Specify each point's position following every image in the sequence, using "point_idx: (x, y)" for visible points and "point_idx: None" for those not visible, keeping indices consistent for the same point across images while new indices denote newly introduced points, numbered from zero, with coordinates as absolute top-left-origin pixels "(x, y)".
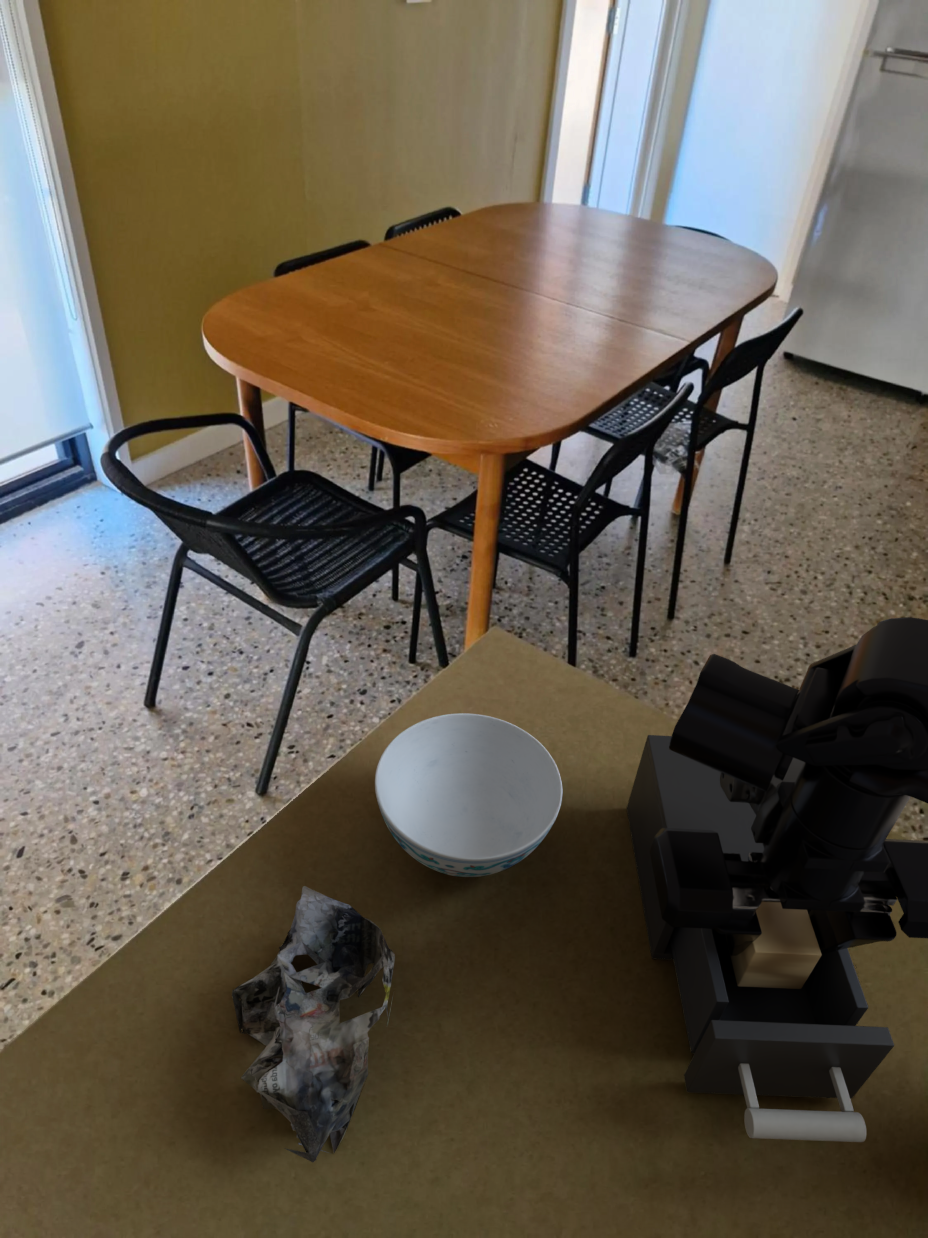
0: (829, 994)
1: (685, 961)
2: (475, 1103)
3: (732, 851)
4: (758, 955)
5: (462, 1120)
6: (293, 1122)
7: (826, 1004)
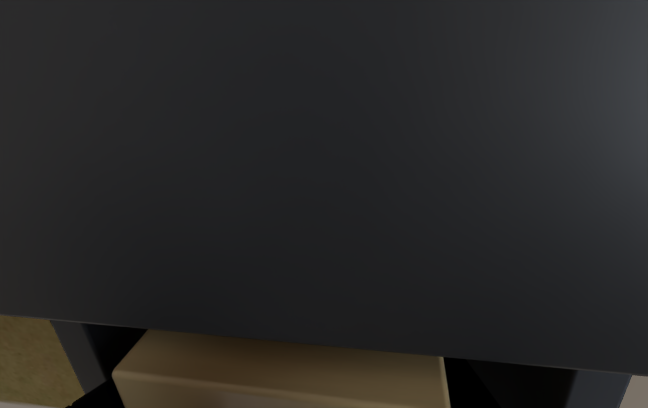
0: (488, 385)
1: None
2: (25, 328)
3: (60, 82)
4: None
5: (20, 341)
6: None
7: (481, 364)
